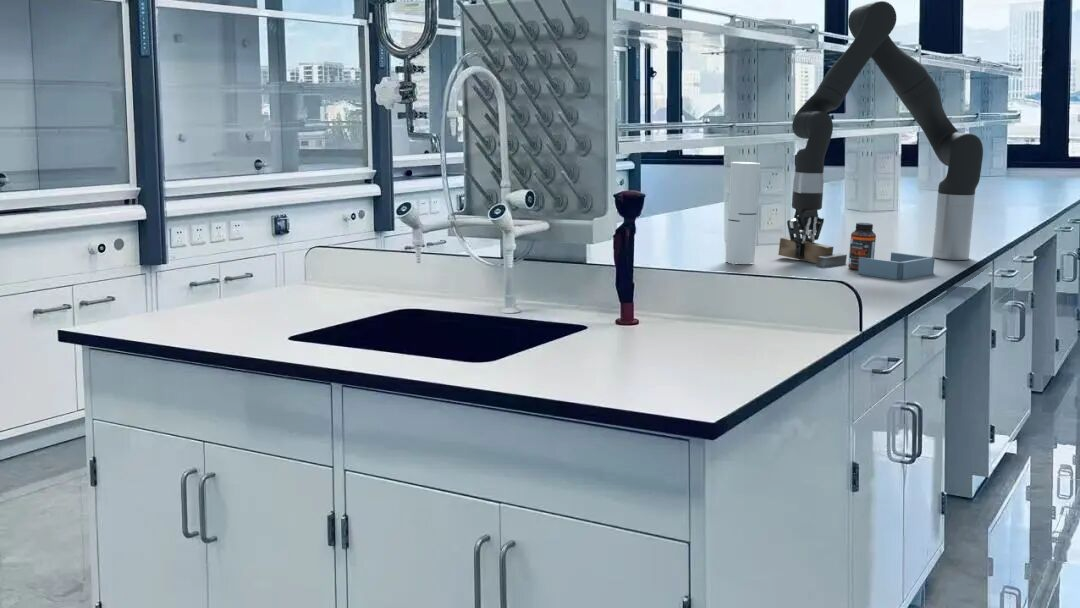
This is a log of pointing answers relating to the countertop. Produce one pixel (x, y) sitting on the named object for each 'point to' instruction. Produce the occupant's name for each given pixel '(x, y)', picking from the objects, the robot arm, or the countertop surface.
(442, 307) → the countertop surface
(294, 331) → the countertop surface
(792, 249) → the scraper
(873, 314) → the countertop surface
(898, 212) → the countertop surface
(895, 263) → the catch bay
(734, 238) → the cylindrical container
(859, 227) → the supplement bottle
